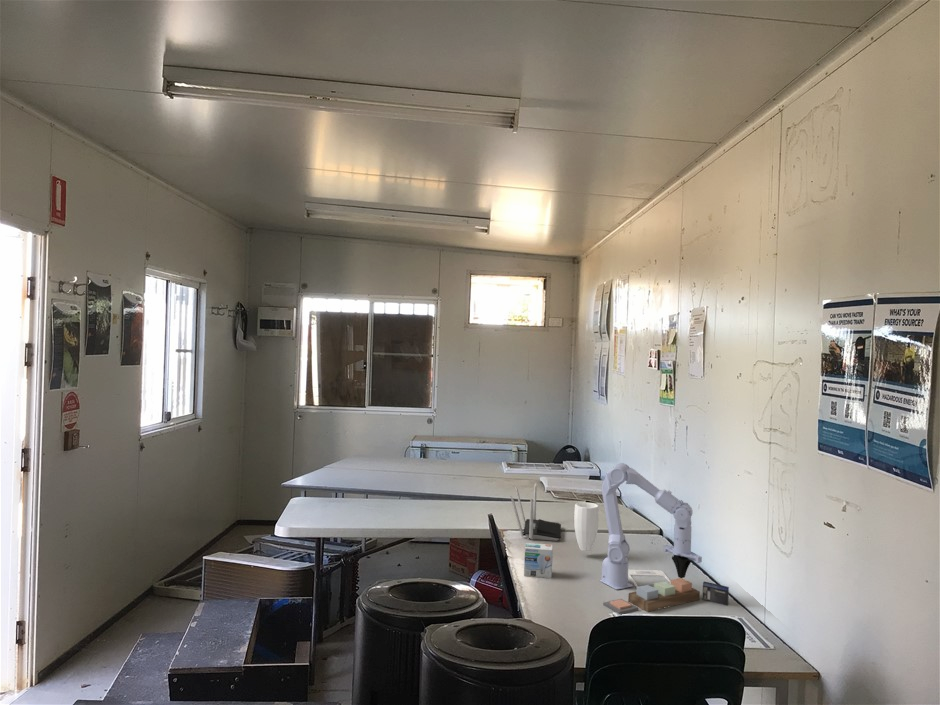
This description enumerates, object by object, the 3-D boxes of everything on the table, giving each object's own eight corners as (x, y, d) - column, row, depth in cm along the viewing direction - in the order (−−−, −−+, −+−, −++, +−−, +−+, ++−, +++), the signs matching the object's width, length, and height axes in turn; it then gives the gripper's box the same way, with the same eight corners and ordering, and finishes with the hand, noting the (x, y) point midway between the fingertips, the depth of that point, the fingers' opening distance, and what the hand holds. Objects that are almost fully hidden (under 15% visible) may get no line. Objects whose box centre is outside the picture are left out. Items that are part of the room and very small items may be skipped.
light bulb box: (523, 576, 232) (524, 547, 232) (524, 570, 238) (525, 542, 238) (552, 578, 230) (552, 549, 230) (552, 572, 237) (552, 544, 237)
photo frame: (661, 570, 241) (677, 587, 223) (661, 572, 241) (677, 590, 223) (624, 568, 241) (637, 586, 223) (624, 571, 241) (637, 589, 223)
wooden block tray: (628, 601, 210) (628, 593, 210) (679, 590, 222) (679, 582, 222) (647, 612, 202) (647, 602, 202) (699, 599, 214) (699, 591, 214)
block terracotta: (670, 591, 217) (670, 580, 217) (680, 589, 219) (680, 578, 219) (681, 596, 212) (681, 585, 212) (691, 594, 215) (691, 582, 215)
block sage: (653, 595, 213) (654, 583, 213) (664, 592, 215) (664, 581, 215) (664, 600, 208) (664, 588, 208) (675, 597, 211) (675, 586, 211)
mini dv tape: (702, 599, 214) (702, 582, 214) (703, 598, 215) (703, 581, 215) (727, 605, 209) (727, 588, 209) (728, 604, 211) (728, 586, 211)
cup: (598, 561, 250) (599, 509, 250) (572, 559, 252) (573, 507, 252) (597, 553, 260) (599, 503, 260) (573, 551, 262) (574, 501, 262)
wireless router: (560, 546, 269) (561, 500, 269) (507, 542, 273) (509, 497, 273) (561, 525, 302) (562, 484, 302) (514, 521, 306) (515, 481, 306)
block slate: (636, 598, 209) (636, 587, 209) (647, 596, 211) (647, 584, 211) (646, 604, 205) (647, 592, 205) (657, 601, 207) (658, 590, 207)
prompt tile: (603, 604, 207) (603, 600, 207) (621, 601, 211) (621, 596, 211) (619, 614, 200) (619, 610, 200) (637, 610, 204) (637, 605, 204)
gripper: (658, 534, 219) (657, 572, 219) (693, 546, 207) (692, 586, 207) (671, 532, 223) (670, 569, 223) (705, 542, 211) (704, 582, 211)
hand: (681, 577), depth 216 cm, fingers closed
